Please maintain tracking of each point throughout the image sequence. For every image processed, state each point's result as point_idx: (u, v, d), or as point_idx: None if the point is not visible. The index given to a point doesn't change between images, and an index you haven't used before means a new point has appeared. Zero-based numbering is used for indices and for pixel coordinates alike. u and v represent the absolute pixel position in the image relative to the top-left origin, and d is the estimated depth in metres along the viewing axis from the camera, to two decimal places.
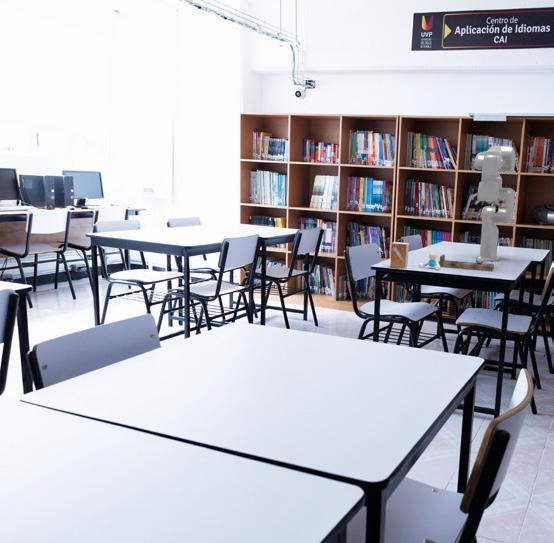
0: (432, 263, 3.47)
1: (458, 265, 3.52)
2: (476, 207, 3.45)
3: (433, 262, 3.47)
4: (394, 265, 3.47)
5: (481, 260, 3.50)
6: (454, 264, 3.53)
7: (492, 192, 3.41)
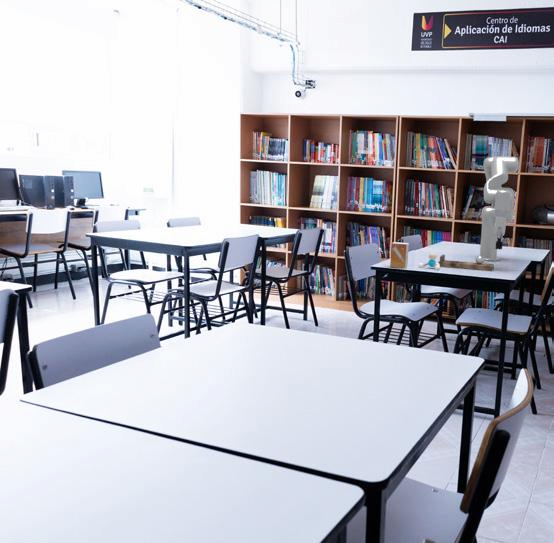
0: (432, 263, 3.47)
1: (458, 265, 3.52)
2: None
3: (433, 262, 3.47)
4: (394, 265, 3.47)
5: (481, 260, 3.50)
6: (454, 264, 3.53)
7: (505, 226, 3.47)
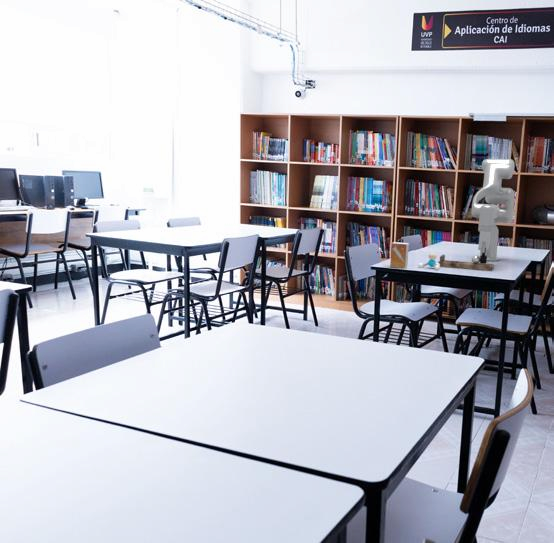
0: (432, 263, 3.47)
1: (458, 265, 3.52)
2: None
3: (433, 262, 3.47)
4: (394, 265, 3.47)
5: (477, 259, 3.51)
6: (454, 264, 3.53)
7: None
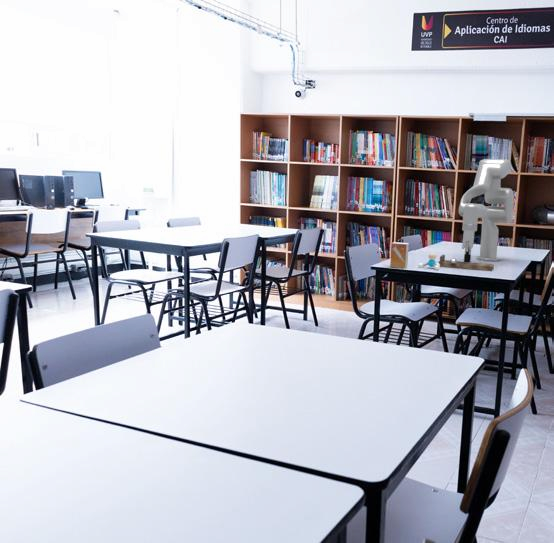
0: (431, 263, 3.47)
1: (458, 265, 3.52)
2: None
3: (432, 262, 3.47)
4: (394, 265, 3.47)
5: (454, 261, 3.56)
6: (454, 264, 3.53)
7: (473, 240, 3.54)
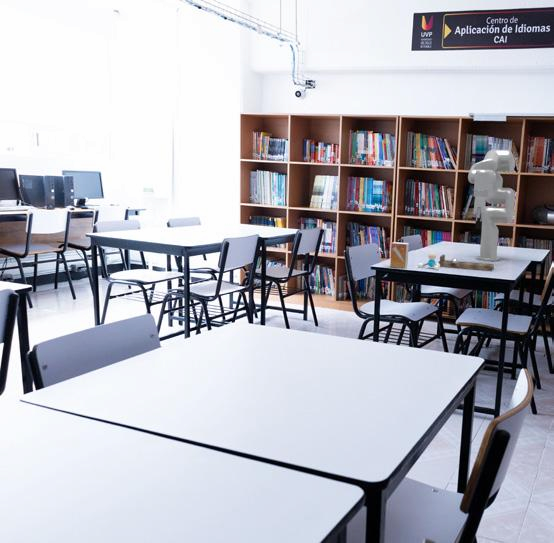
0: (431, 263, 3.48)
1: (458, 265, 3.52)
2: (480, 224, 3.49)
3: (432, 262, 3.48)
4: (394, 265, 3.47)
5: (456, 261, 3.56)
6: (454, 264, 3.53)
7: None
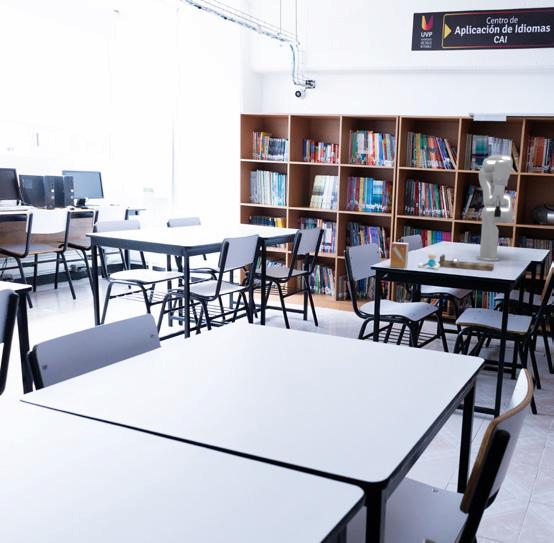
0: (431, 263, 3.48)
1: (458, 265, 3.52)
2: (499, 212, 3.61)
3: (432, 262, 3.48)
4: (394, 265, 3.47)
5: (457, 261, 3.56)
6: (454, 264, 3.53)
7: None
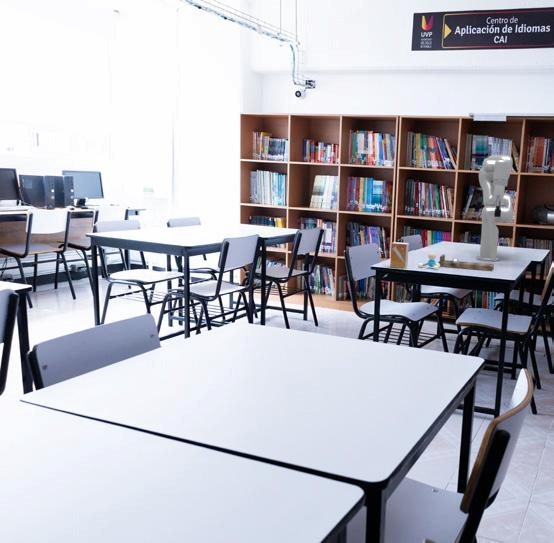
0: (431, 263, 3.48)
1: (458, 265, 3.52)
2: (499, 212, 3.61)
3: (432, 262, 3.48)
4: (394, 265, 3.47)
5: (457, 261, 3.56)
6: (454, 264, 3.53)
7: None
